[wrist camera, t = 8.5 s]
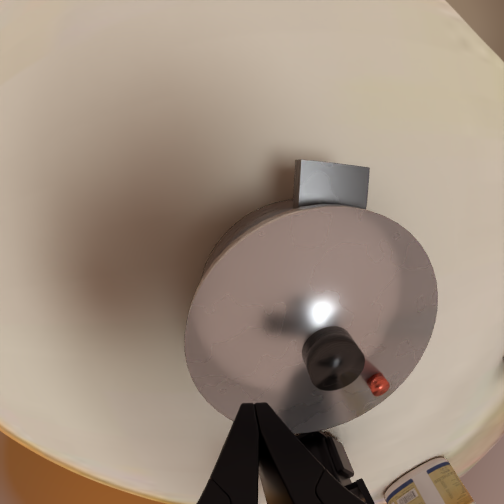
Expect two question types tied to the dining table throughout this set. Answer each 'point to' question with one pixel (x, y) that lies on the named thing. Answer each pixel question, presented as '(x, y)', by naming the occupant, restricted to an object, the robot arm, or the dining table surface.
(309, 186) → the cooker pot
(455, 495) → the supplement tub
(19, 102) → the dining table surface
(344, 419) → the cooker lid
